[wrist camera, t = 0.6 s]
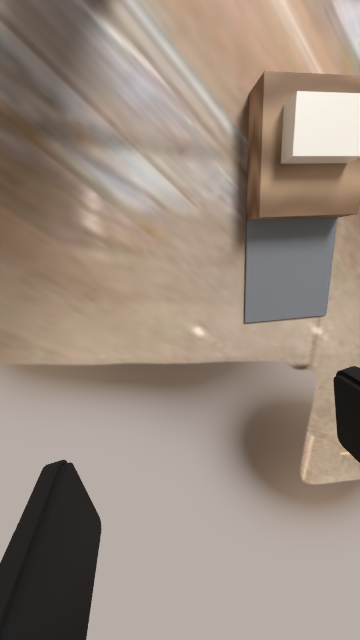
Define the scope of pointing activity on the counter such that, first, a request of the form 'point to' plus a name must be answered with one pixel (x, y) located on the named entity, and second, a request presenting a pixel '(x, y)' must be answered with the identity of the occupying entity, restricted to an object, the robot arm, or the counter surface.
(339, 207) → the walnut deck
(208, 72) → the counter surface
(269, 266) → the rubber mat
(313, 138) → the cream rectangular block
